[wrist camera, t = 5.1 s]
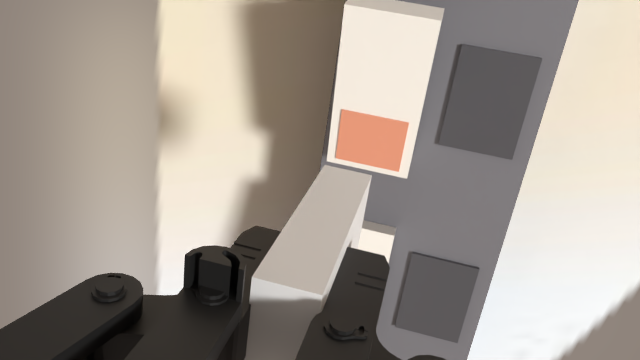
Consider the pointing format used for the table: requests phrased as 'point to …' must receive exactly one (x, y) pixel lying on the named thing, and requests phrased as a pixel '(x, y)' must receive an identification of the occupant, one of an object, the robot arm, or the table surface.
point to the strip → (463, 168)
